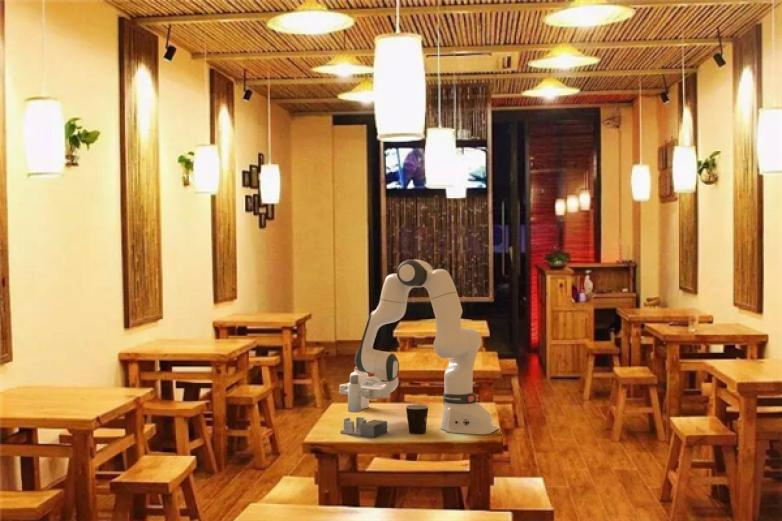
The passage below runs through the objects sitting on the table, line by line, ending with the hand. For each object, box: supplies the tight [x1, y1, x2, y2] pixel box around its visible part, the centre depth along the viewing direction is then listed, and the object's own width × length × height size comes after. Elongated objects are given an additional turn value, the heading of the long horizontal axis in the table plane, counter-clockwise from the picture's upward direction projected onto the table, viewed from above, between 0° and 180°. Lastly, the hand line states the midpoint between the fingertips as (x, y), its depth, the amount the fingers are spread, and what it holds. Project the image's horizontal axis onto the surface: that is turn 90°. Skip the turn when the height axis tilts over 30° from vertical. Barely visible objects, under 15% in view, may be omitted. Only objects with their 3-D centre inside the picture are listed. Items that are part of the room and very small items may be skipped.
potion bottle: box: [349, 366, 370, 410], centre depth 388 cm, size 8×8×18 cm
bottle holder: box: [340, 416, 388, 439], centre depth 339 cm, size 16×10×5 cm, turn 60°
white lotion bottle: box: [347, 375, 362, 414], centre depth 341 cm, size 5×5×14 cm
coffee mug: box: [405, 404, 429, 435], centre depth 338 cm, size 12×9×10 cm
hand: (353, 393), depth 340 cm, fingers closed on white lotion bottle, 5 cm apart
